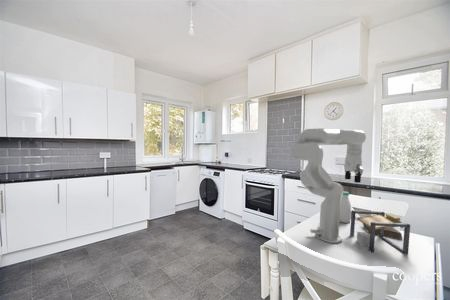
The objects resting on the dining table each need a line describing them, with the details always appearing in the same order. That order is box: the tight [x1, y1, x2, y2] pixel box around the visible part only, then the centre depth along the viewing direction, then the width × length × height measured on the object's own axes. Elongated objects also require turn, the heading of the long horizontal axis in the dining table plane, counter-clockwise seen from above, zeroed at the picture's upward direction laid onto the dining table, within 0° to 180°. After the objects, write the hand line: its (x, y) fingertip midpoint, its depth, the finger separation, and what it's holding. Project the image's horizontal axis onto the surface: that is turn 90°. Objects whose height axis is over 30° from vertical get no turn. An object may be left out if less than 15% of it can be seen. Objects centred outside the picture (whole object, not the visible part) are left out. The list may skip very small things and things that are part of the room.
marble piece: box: [362, 223, 403, 240], centre depth 120 cm, size 17×15×4 cm
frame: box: [349, 209, 411, 255], centre depth 104 cm, size 17×17×14 cm
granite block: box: [356, 231, 370, 246], centre depth 104 cm, size 5×5×5 cm
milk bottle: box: [339, 190, 352, 224], centre depth 134 cm, size 8×8×20 cm
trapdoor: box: [356, 212, 403, 229], centre depth 104 cm, size 16×13×3 cm
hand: (352, 180), depth 119 cm, fingers open, 9 cm apart
